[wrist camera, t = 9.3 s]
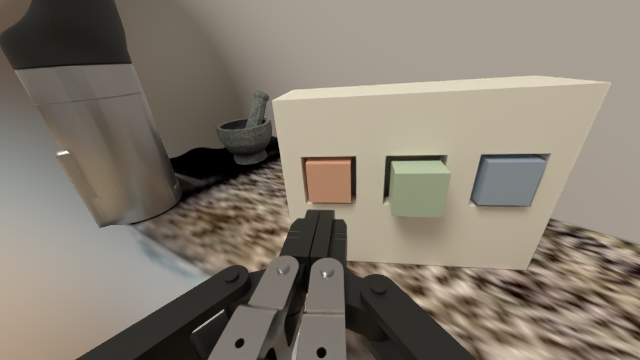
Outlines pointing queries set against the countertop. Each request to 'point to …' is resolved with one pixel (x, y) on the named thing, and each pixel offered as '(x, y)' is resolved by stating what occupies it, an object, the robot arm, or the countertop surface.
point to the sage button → (418, 188)
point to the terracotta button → (329, 179)
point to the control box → (438, 145)
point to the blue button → (507, 179)
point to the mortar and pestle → (248, 133)
